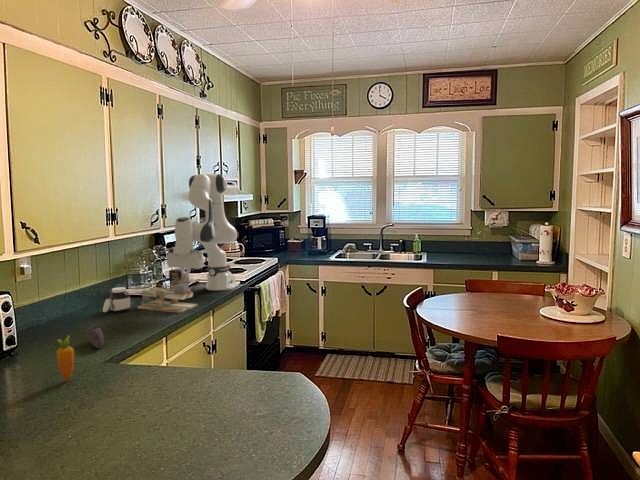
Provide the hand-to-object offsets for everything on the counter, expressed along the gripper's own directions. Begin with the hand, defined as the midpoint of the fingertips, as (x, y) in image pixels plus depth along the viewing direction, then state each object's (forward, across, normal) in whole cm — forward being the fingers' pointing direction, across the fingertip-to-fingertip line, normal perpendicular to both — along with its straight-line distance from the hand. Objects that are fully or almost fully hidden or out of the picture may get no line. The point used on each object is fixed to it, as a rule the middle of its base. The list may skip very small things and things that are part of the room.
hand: (185, 276), depth 245 cm
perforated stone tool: (+18, -2, +59) cm, 61 cm away
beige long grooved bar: (+14, +13, 0) cm, 19 cm away
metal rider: (+9, +3, 0) cm, 10 cm away
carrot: (+18, -22, +89) cm, 93 cm away
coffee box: (+17, +20, -19) cm, 33 cm away
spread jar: (+18, +32, +16) cm, 40 cm away
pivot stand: (+17, +13, 0) cm, 21 cm away
